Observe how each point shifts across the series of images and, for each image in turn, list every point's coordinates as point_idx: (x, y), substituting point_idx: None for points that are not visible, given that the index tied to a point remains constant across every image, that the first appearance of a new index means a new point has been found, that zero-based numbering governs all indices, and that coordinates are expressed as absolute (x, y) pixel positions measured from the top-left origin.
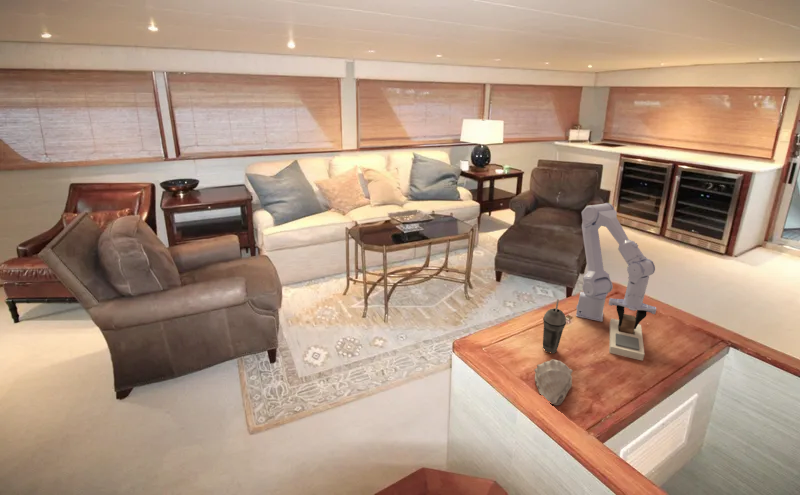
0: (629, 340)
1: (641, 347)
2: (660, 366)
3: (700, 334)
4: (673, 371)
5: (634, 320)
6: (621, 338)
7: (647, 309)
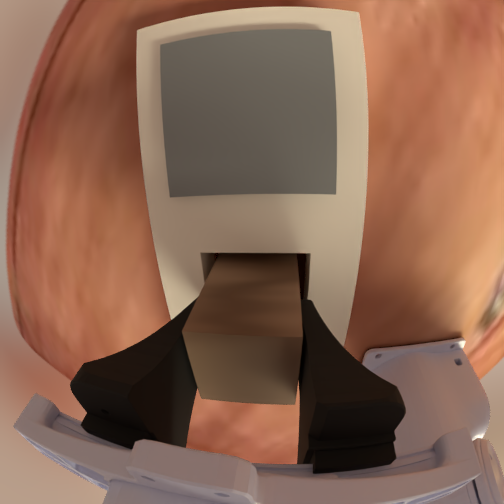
0: (229, 126)
1: (150, 99)
2: (88, 55)
3: (53, 359)
4: (53, 60)
5: (194, 344)
6: (293, 128)
7: (53, 441)
